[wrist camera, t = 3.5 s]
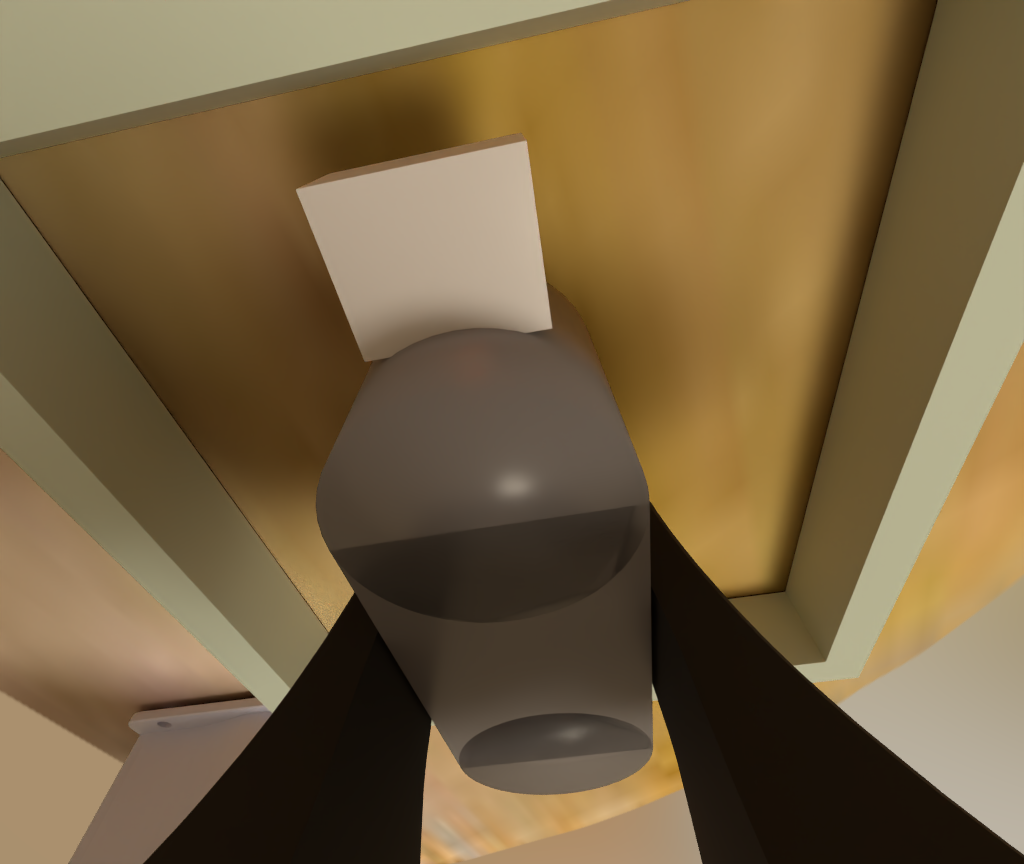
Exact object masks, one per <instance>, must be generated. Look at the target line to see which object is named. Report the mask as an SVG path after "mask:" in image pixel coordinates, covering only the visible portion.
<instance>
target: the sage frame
mask: <svg viewBox="0 0 1024 864" xmlns="http://www.w3.org/2000/svg"><path fill="white" fill-rule="evenodd" d="M684 1H688V0H0V158H3V157H7V156H11V155H16V154H20V153H24V152H29V151H33V150H38V149H42V148H46V147H51V146H55V145H59V144H64V143H68V142H72V141H77V140H81V139H86V138H90V137H94V136H99V135H103V134H107V133H112V132H116V131H121V130H125V129H129V128H134V127H138V126H142V125H147V124H151V123H155V122H160V121H164V120H169V119H173V118H177V117H182V116H186V115H190V114H195V113H199V112H203V111H208V110H212V109H217V108H221V107H225V106H230V105H234V104H238V103H243V102H247V101H252V100H256V99H260V98H265V97H269V96H273V95H278V94H282V93H286V92H291V91H295V90H300V89H304V88H308V87H313V86H317V85H321V84H326V83H330V82H335V81H339V80H343V79H348V78H352V77H356V76H361V75H365V74H369V73H374V72H378V71H383V70H387V69H391V68H396V67H400V66H404V65H409V64H413V63H417V62H422V61H426V60H431V59H435V58H439V57H444V56H448V55H452V54H457V53H461V52H466V51H470V50H474V49H479V48H483V47H487V46H492V45H496V44H500V43H505V42H509V41H514V40H518V39H522V38H527V37H531V36H535V35H540V34H544V33H548V32H553V31H557V30H562V29H566V28H570V27H575V26H579V25H583V24H588V23H592V22H597V21H601V20H605V19H610V18H614V17H618V16H623V15H627V14H631V13H636V12H640V11H645V10H649V9H653V8H658V7H662V6H666V5H671V4H675V3H679V2H684ZM1023 341H1024V0H938V2H937V6H936V10H935V14H934V18H933V22H932V26H931V30H930V33H929V37H928V41H927V45H926V49H925V53H924V57H923V60H922V64H921V68H920V72H919V76H918V80H917V84H916V88H915V91H914V95H913V99H912V103H911V107H910V111H909V115H908V119H907V122H906V126H905V130H904V134H903V138H902V142H901V146H900V149H899V153H898V157H897V161H896V165H895V169H894V173H893V177H892V180H891V184H890V188H889V192H888V196H887V200H886V204H885V208H884V211H883V215H882V219H881V223H880V227H879V231H878V235H877V238H876V242H875V246H874V250H873V254H872V258H871V262H870V266H869V269H868V273H867V277H866V281H865V285H864V289H863V293H862V297H861V300H860V304H859V308H858V312H857V316H856V320H855V324H854V327H853V331H852V335H851V339H850V343H849V347H848V351H847V355H846V358H845V362H844V366H843V370H842V374H841V378H840V382H839V385H838V389H837V393H836V397H835V401H834V405H833V409H832V413H831V416H830V420H829V424H828V428H827V432H826V436H825V440H824V444H823V447H822V451H821V455H820V459H819V463H818V467H817V471H816V474H815V478H814V482H813V486H812V490H811V494H810V498H809V502H808V505H807V509H806V513H805V517H804V521H803V525H802V529H801V533H800V536H799V540H798V544H797V548H796V552H795V556H794V560H793V563H792V567H791V571H790V575H789V579H788V583H787V587H786V591H785V592H780V593H772V594H764V595H756V596H748V597H741V598H733V599H728V600H729V601H730V602H731V603H732V604H733V605H734V606H735V608H736V609H737V610H738V611H739V612H740V613H741V614H742V615H743V616H744V617H745V618H746V619H747V620H748V621H749V622H750V623H751V624H752V625H753V626H754V627H755V628H756V629H757V630H758V631H759V633H760V634H761V635H762V636H763V637H764V638H765V639H766V640H767V641H768V642H769V643H770V644H771V645H772V646H773V647H774V648H775V649H777V650H778V651H779V652H780V653H781V654H782V655H783V656H784V657H785V658H786V659H787V660H788V661H789V662H790V663H791V664H792V665H793V666H794V667H795V668H796V669H798V670H799V671H800V672H801V673H802V674H803V675H804V676H805V677H806V678H807V679H808V680H809V681H810V682H812V683H815V682H823V681H832V680H841V679H850V678H859V676H860V673H861V671H862V669H863V667H864V665H865V663H866V661H867V659H868V657H869V655H870V653H871V651H872V649H873V647H874V645H875V643H876V641H877V639H878V637H879V635H880V633H881V631H882V629H883V627H884V625H885V623H886V621H887V618H888V616H889V614H890V612H891V610H892V608H893V606H894V604H895V602H896V600H897V598H898V596H899V594H900V592H901V590H902V588H903V586H904V584H905V582H906V580H907V578H908V576H909V574H910V572H911V570H912V568H913V565H914V563H915V561H916V559H917V557H918V555H919V553H920V551H921V549H922V547H923V545H924V543H925V541H926V539H927V537H928V535H929V533H930V531H931V529H932V527H933V525H934V523H935V521H936V519H937V517H938V515H939V513H940V510H941V508H942V506H943V504H944V502H945V500H946V498H947V496H948V494H949V492H950V490H951V488H952V486H953V484H954V482H955V480H956V478H957V476H958V474H959V472H960V470H961V468H962V466H963V464H964V462H965V460H966V458H967V455H968V453H969V451H970V449H971V447H972V445H973V443H974V441H975V439H976V437H977V435H978V433H979V431H980V429H981V427H982V425H983V423H984V421H985V419H986V417H987V415H988V413H989V411H990V409H991V407H992V405H993V402H994V400H995V398H996V396H997V394H998V392H999V390H1000V388H1001V386H1002V384H1003V382H1004V380H1005V378H1006V376H1007V374H1008V372H1009V370H1010V368H1011V366H1012V364H1013V362H1014V360H1015V358H1016V356H1017V354H1018V352H1019V350H1020V347H1021V345H1022V343H1023ZM0 448H1V449H2V450H3V451H4V452H5V453H6V454H7V455H8V456H9V457H10V458H11V459H12V460H13V461H14V462H15V463H16V464H17V465H18V466H19V467H20V468H21V469H23V470H24V471H25V472H26V473H27V474H28V475H29V476H30V477H31V478H32V479H33V480H34V481H35V482H36V483H37V484H38V485H39V486H40V487H41V488H42V489H43V490H44V491H45V492H46V493H47V494H48V495H49V496H50V497H51V498H52V499H53V500H54V501H55V502H56V503H57V504H58V505H59V506H60V507H61V508H62V509H63V510H65V511H66V512H67V513H68V514H69V515H70V516H71V517H72V518H73V519H74V520H75V521H76V522H77V523H78V524H79V525H80V526H81V527H82V528H83V529H84V530H85V531H86V532H87V533H88V534H89V535H90V536H91V537H92V538H93V539H94V540H95V541H96V542H97V543H98V544H99V545H100V546H101V547H102V548H103V549H104V550H105V551H107V552H108V553H109V554H110V555H111V556H112V557H113V558H114V559H115V560H116V561H117V562H118V563H119V564H120V565H121V566H122V567H123V568H124V569H125V570H126V571H127V572H128V573H129V574H130V575H131V576H132V577H133V578H134V579H135V580H136V581H137V582H138V583H139V584H140V585H141V586H142V587H143V588H144V589H145V590H146V591H148V592H149V593H150V594H151V595H152V596H153V597H154V598H155V599H156V600H157V601H158V602H159V603H160V604H161V605H162V606H163V607H164V608H165V609H166V610H167V611H168V612H169V613H170V614H171V615H172V616H173V617H174V618H175V619H176V620H177V621H178V622H179V623H180V624H181V625H182V626H183V627H184V628H185V629H186V630H187V631H188V632H190V633H191V634H192V635H193V636H194V637H195V638H196V639H197V640H198V641H199V642H200V643H201V644H202V645H203V646H204V647H205V648H206V649H207V650H208V651H209V652H210V653H211V654H212V655H213V656H214V657H215V658H216V659H217V660H218V661H219V662H220V663H221V664H222V665H223V666H224V667H225V668H226V669H227V670H228V671H229V672H230V673H232V674H233V675H234V676H235V677H236V678H237V679H238V680H239V681H240V682H241V683H242V684H243V685H244V686H245V687H246V688H247V689H248V690H249V691H250V692H251V693H252V694H253V695H254V696H255V697H256V698H257V699H258V700H259V701H260V702H261V703H262V704H263V705H264V706H265V707H266V708H267V709H268V710H269V711H270V712H271V713H273V712H274V710H275V709H276V708H277V706H278V705H279V704H280V702H281V701H282V700H283V698H284V697H285V696H286V694H287V693H288V692H289V690H290V689H291V687H292V686H293V685H294V683H295V682H296V680H297V679H298V677H299V676H300V675H301V673H302V672H303V670H304V669H305V667H306V666H307V665H308V663H309V662H310V660H311V659H312V657H313V656H314V654H315V653H316V652H317V650H318V649H319V647H320V646H321V644H322V643H323V641H324V640H325V638H326V637H327V635H328V632H327V631H326V629H325V628H324V627H323V625H322V624H321V622H320V621H319V620H318V618H317V617H316V616H315V614H314V613H313V611H312V610H311V609H310V607H309V606H308V604H307V603H306V602H305V600H304V599H303V598H302V596H301V595H300V593H299V592H298V591H297V589H296V588H295V586H294V585H293V584H292V582H291V581H290V580H289V578H288V577H287V575H286V574H285V573H284V571H283V570H282V568H281V567H280V566H279V564H278V563H277V562H276V560H275V559H274V557H273V556H272V555H271V553H270V552H269V550H268V549H267V548H266V546H265V545H264V543H263V542H262V541H261V539H260V538H259V537H258V535H257V534H256V532H255V531H254V530H253V528H252V527H251V525H250V524H249V523H248V521H247V520H246V519H245V517H244V516H243V514H242V513H241V512H240V510H239V509H238V507H237V506H236V505H235V503H234V502H233V501H232V499H231V498H230V496H229V495H228V494H227V492H226V491H225V489H224V488H223V487H222V485H221V484H220V483H219V481H218V480H217V478H216V477H215V476H214V474H213V473H212V471H211V470H210V469H209V467H208V466H207V464H206V463H205V462H204V460H203V459H202V458H201V456H200V455H199V453H198V452H197V451H196V449H195V448H194V446H193V445H192V444H191V442H190V441H189V440H188V438H187V437H186V435H185V434H184V433H183V431H182V430H181V428H180V427H179V426H178V424H177V423H176V422H175V420H174V419H173V417H172V416H171V415H170V413H169V412H168V410H167V409H166V408H165V406H164V405H163V404H162V402H161V401H160V399H159V398H158V397H157V395H156V394H155V392H154V391H153V390H152V388H151V387H150V385H149V384H148V383H147V381H146V380H145V379H144V377H143V376H142V374H141V373H140V372H139V370H138V369H137V367H136V366H135V365H134V363H133V362H132V361H131V359H130V358H129V356H128V355H127V354H126V352H125V351H124V349H123V348H122V347H121V345H120V344H119V343H118V341H117V340H116V338H115V337H114V336H113V334H112V333H111V331H110V330H109V329H108V327H107V326H106V325H105V323H104V322H103V320H102V319H101V318H100V316H99V315H98V313H97V312H96V311H95V309H94V308H93V306H92V305H91V304H90V302H89V301H88V300H87V298H86V297H85V295H84V294H83V293H82V291H81V290H80V288H79V287H78V286H77V284H76V283H75V282H74V280H73V279H72V277H71V276H70V275H69V273H68V272H67V270H66V269H65V268H64V266H63V265H62V264H61V262H60V261H59V259H58V258H57V257H56V255H55V254H54V252H53V251H52V250H51V248H50V247H49V246H48V244H47V243H46V241H45V240H44V239H43V237H42V236H41V234H40V233H39V232H38V230H37V229H36V227H35V226H34V225H33V223H32V222H31V221H30V219H29V218H28V216H27V215H26V214H25V212H24V211H23V209H22V208H21V207H20V205H19V204H18V203H17V201H16V200H15V198H14V197H13V196H12V194H11V193H10V191H9V190H8V189H7V187H6V186H5V185H4V183H3V182H2V180H1V179H0ZM654 700H658V699H657V696H656V693H655V690H654V687H653V684H652V701H654ZM431 725H435V724H434V722H433V721H432V722H431Z"/></svg>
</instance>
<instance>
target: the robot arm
mask: <svg viewBox="0 0 1024 864" xmlns="http://www.w3.org/2000/svg"><path fill="white" fill-rule="evenodd" d="M649 502H650V501H649ZM650 566H651V642H652V684H653V687H654V690H655V693H656V696H657V699H658V702H659V705H660V708H661V711H662V714H663V717H664V720H665V723H666V726H667V729H668V732H669V735H670V738H671V742H672V745H673V749H674V752H675V755H676V759H677V762H678V766H679V770H680V774H681V778H682V782H683V786H684V790H685V794H686V798H687V802H688V806H689V810H690V814H691V818H692V822H693V826H694V830H695V835H696V839H697V843H698V847H699V851H700V855H701V859H702V863H703V864H1024V855H1023V854H1022V853H1021V852H1019V851H1018V850H1016V849H1015V848H1014V847H1012V846H1011V845H1009V844H1008V843H1007V842H1006V841H1005V840H1003V839H1002V838H1001V837H999V836H998V835H997V834H995V833H994V832H992V831H991V830H990V829H989V828H988V827H986V826H985V825H984V824H982V823H981V822H980V821H978V820H977V819H976V818H975V817H973V816H972V815H971V814H969V813H968V812H967V811H965V810H964V809H963V808H961V807H960V806H959V805H958V804H956V803H955V802H954V801H952V800H951V799H950V798H948V797H947V796H946V795H945V794H943V793H942V792H941V791H940V790H938V789H937V788H936V787H935V786H933V785H932V784H931V783H930V782H929V781H927V780H926V779H925V778H924V777H922V776H921V775H920V774H918V772H916V771H915V770H914V769H913V768H911V767H910V766H909V765H908V764H906V763H905V762H904V761H903V760H902V759H900V758H899V757H898V756H897V755H896V754H894V753H893V752H892V751H891V750H889V749H888V748H887V747H886V746H885V745H883V744H882V743H881V742H880V741H878V740H877V739H876V738H875V737H873V736H872V735H871V734H870V733H868V732H867V731H866V730H865V729H864V728H862V727H861V726H860V725H859V724H857V722H855V721H854V720H853V719H852V718H851V717H850V716H849V715H847V714H846V713H845V712H844V711H843V710H842V709H841V708H840V707H838V706H837V705H836V704H835V703H834V702H833V701H832V700H830V699H829V698H828V697H827V696H826V695H825V694H824V693H823V692H821V691H820V690H819V689H818V688H817V687H816V686H815V685H814V684H813V683H812V682H810V681H809V680H808V679H807V678H806V677H805V676H804V675H803V674H802V673H801V672H800V671H799V670H798V669H796V668H795V667H794V666H793V665H792V664H791V663H790V662H789V661H788V660H787V659H786V658H785V657H784V656H783V655H782V654H781V653H780V652H779V651H778V650H777V649H775V648H774V647H773V646H772V645H771V644H770V643H769V642H768V641H767V640H766V639H765V638H764V637H763V636H762V635H761V634H760V633H759V631H758V630H757V629H756V628H755V627H754V626H753V625H752V624H751V623H750V622H749V621H748V620H747V619H746V618H745V617H744V616H743V615H742V614H741V613H740V612H739V611H738V610H737V609H736V608H735V606H734V605H733V604H732V603H731V602H730V601H729V600H728V599H727V598H726V597H725V596H724V594H723V593H722V592H721V591H720V590H719V589H718V588H717V586H716V585H715V584H714V583H713V582H712V581H711V580H710V578H709V577H708V576H707V575H706V574H705V573H704V572H703V570H702V569H701V568H700V567H699V566H698V565H697V563H696V562H695V561H694V560H693V559H692V557H691V556H690V555H689V554H688V552H687V551H686V550H685V549H684V547H683V546H682V545H681V544H680V542H679V541H678V540H677V539H676V537H675V536H674V535H673V533H672V532H671V531H670V529H669V528H668V527H667V525H666V524H665V522H664V521H663V520H662V518H661V517H660V515H659V514H658V513H657V511H656V510H655V508H654V507H653V505H652V503H651V502H650ZM431 722H432V719H431V717H430V716H429V714H428V712H427V711H426V709H425V707H424V706H423V704H422V703H421V701H420V699H419V698H418V696H417V694H416V693H415V691H414V689H413V688H412V686H411V684H410V683H409V681H408V679H407V678H406V676H405V674H404V673H403V671H402V669H401V668H400V666H399V665H398V663H397V661H396V660H395V658H394V656H393V655H392V653H391V651H390V650H389V648H388V646H387V645H386V643H385V641H384V640H383V638H382V636H381V635H380V633H379V631H378V630H377V628H376V627H375V625H374V623H373V622H372V620H371V618H370V617H369V615H368V613H367V612H366V610H365V608H364V607H363V605H362V603H361V602H360V600H359V598H358V597H357V595H356V593H355V592H354V594H353V596H352V597H351V599H350V601H349V602H348V604H347V605H346V607H345V609H344V610H343V612H342V613H341V615H340V616H339V618H338V620H337V621H336V623H335V624H334V626H333V627H332V629H331V630H330V632H329V634H328V635H327V637H326V638H325V640H324V641H323V643H322V644H321V646H320V647H319V649H318V650H317V652H316V653H315V654H314V656H313V657H312V659H311V660H310V662H309V663H308V665H307V666H306V667H305V669H304V670H303V672H302V673H301V675H300V676H299V677H298V679H297V680H296V682H295V683H294V685H293V686H292V687H291V689H290V690H289V692H288V693H287V694H286V696H285V697H284V698H283V700H282V701H281V702H280V704H279V705H278V706H277V708H276V709H275V710H274V712H273V713H271V712H270V711H269V710H268V709H267V708H266V707H265V706H264V705H263V704H262V703H261V702H260V701H259V700H258V699H257V698H249V699H241V700H232V701H224V702H216V703H208V704H199V705H191V706H183V707H174V708H166V709H158V710H150V711H141V712H137V713H135V714H134V715H133V716H132V718H131V719H130V721H129V723H128V726H129V727H130V728H131V729H132V730H134V731H135V732H137V733H138V734H139V737H138V739H137V741H136V743H135V744H134V746H133V748H132V750H131V752H130V753H129V755H128V757H127V759H126V761H125V762H124V764H123V766H122V768H121V770H120V772H119V773H118V775H117V777H116V779H115V781H114V782H113V784H112V786H111V788H110V789H109V791H108V793H107V795H106V797H105V799H104V800H103V802H102V804H101V806H100V807H99V809H98V811H97V813H96V815H95V816H94V818H93V820H92V822H91V824H90V825H89V827H88V829H87V831H86V833H85V834H84V836H83V838H82V840H81V842H80V843H79V845H78V847H77V849H76V851H75V853H74V855H73V856H72V858H71V860H70V861H69V863H68V864H420V853H421V831H422V811H423V791H424V779H425V769H426V759H427V751H428V744H429V737H430V729H431Z"/></svg>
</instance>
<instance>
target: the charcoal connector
mask: <svg viewBox="0 0 1024 864" xmlns="http://www.w3.org/2000/svg"><path fill="white" fill-rule="evenodd" d="M296 192H297V194H298V197H299V199H300V202H301V204H302V207H303V209H304V212H305V214H306V217H307V219H308V222H309V224H310V227H311V229H312V232H313V234H314V237H315V239H316V241H317V244H318V246H319V249H320V251H321V254H322V256H323V259H324V261H325V264H326V266H327V269H328V271H329V274H330V276H331V279H332V281H333V284H334V286H335V289H336V291H337V294H338V296H339V299H340V301H341V304H342V306H343V309H344V311H345V314H346V316H347V319H348V321H349V324H350V326H351V329H352V331H353V334H354V336H355V339H356V341H357V344H358V346H359V349H360V351H361V354H362V356H363V359H364V361H365V362H367V361H373V362H372V364H371V366H370V368H369V371H368V373H367V375H366V377H365V379H364V381H363V384H362V386H361V388H360V390H359V392H358V394H357V397H356V399H355V401H354V403H353V405H352V407H351V410H350V412H349V414H348V416H347V418H346V420H345V423H344V425H343V427H342V429H341V431H340V433H339V436H338V438H337V440H336V442H335V444H334V446H333V449H332V451H331V453H330V455H329V457H328V459H327V462H326V464H325V466H324V468H323V470H322V472H321V476H320V480H319V483H318V487H317V495H316V511H317V520H318V524H319V527H320V530H321V534H322V537H323V539H324V541H325V543H326V545H327V547H328V549H329V551H330V552H331V554H332V555H333V557H334V559H335V560H336V562H337V564H338V565H339V567H340V569H341V570H342V572H343V574H344V575H345V577H346V579H347V580H348V582H349V584H350V585H351V587H352V589H353V590H354V592H355V593H356V595H357V597H358V598H359V600H360V602H361V603H362V605H363V607H364V608H365V610H366V612H367V613H368V615H369V617H370V618H371V620H372V622H373V623H374V625H375V627H376V628H377V630H378V631H379V633H380V635H381V636H382V638H383V640H384V641H385V643H386V645H387V646H388V648H389V650H390V651H391V653H392V655H393V656H394V658H395V660H396V661H397V663H398V665H399V666H400V668H401V669H402V671H403V673H404V674H405V676H406V678H407V679H408V681H409V683H410V684H411V686H412V688H413V689H414V691H415V693H416V694H417V696H418V698H419V699H420V701H421V703H422V704H423V706H424V707H425V709H426V711H427V712H428V714H429V716H430V717H431V719H432V721H433V722H434V724H435V726H436V727H437V729H438V731H439V732H440V734H441V736H442V737H443V739H444V741H445V742H446V744H447V745H448V747H449V749H450V750H451V752H452V754H453V755H454V757H455V759H456V760H457V762H458V764H459V765H460V767H461V769H462V770H463V771H464V772H465V774H467V775H468V776H469V777H470V778H472V779H473V780H475V781H476V782H479V783H481V784H483V785H485V786H488V787H491V788H494V789H498V790H502V791H507V792H513V793H521V794H536V795H550V794H566V793H574V792H581V791H587V790H591V789H596V788H600V787H603V786H607V785H610V784H612V783H615V782H618V781H620V780H622V779H625V778H627V777H629V776H630V775H632V774H634V773H635V772H637V771H638V770H640V769H641V768H642V767H643V766H644V765H645V764H646V763H647V762H648V761H649V759H650V757H651V755H652V751H653V718H652V642H651V566H650V502H649V492H648V486H647V483H646V479H645V476H644V473H643V470H642V467H641V465H640V462H639V460H638V457H637V455H636V452H635V449H634V447H633V444H632V442H631V439H630V437H629V434H628V432H627V429H626V427H625V424H624V421H623V419H622V416H621V414H620V411H619V409H618V406H617V404H616V401H615V399H614V396H613V394H612V391H611V388H610V386H609V383H608V381H607V378H606V376H605V373H604V371H603V368H602V366H601V363H600V360H599V358H598V355H597V353H596V350H595V348H594V345H593V343H592V340H591V338H590V335H589V333H588V330H587V328H586V326H585V324H584V322H583V320H582V318H581V316H580V315H579V313H578V312H577V310H576V309H575V307H574V306H573V305H572V304H571V303H570V302H569V300H568V299H567V298H566V297H565V296H564V295H563V294H562V293H560V292H559V291H558V290H557V289H555V288H554V287H553V286H551V285H550V284H548V283H546V278H545V271H544V264H543V256H542V249H541V242H540V235H539V227H538V220H537V213H536V206H535V198H534V191H533V184H532V176H531V169H530V162H529V155H528V147H527V140H526V139H525V138H524V136H523V135H522V133H517V134H513V135H508V136H503V137H499V138H494V139H489V140H485V141H480V142H475V143H470V144H466V145H461V146H456V147H452V148H447V149H442V150H438V151H433V152H428V153H423V154H419V155H414V156H409V157H405V158H400V159H395V160H391V161H386V162H381V163H377V164H372V165H367V166H362V167H358V168H353V169H348V170H344V171H339V172H334V173H330V174H327V175H325V176H323V177H321V178H319V179H317V180H314V181H312V182H310V183H308V184H306V185H304V186H302V187H299V188H297V189H296Z"/></svg>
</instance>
